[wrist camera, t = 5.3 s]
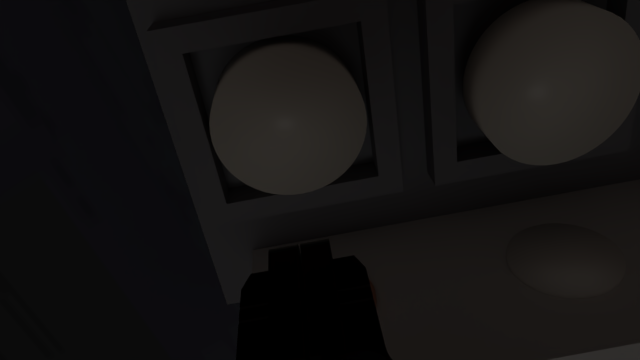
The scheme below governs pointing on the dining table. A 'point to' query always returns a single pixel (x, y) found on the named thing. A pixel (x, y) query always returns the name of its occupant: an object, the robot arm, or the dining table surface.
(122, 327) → the dining table surface
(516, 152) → the button middle
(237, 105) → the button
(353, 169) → the button board
